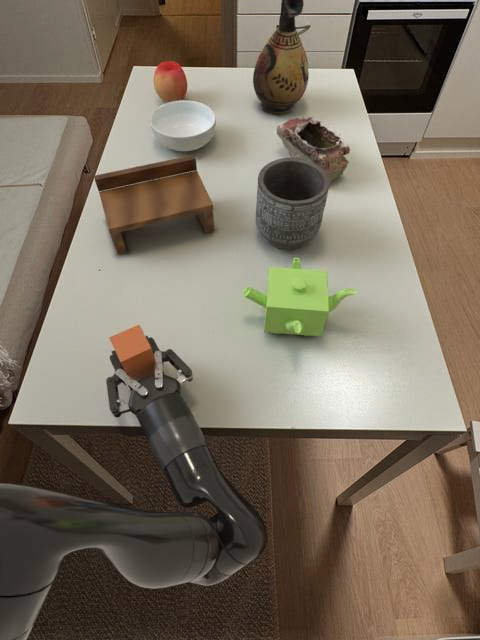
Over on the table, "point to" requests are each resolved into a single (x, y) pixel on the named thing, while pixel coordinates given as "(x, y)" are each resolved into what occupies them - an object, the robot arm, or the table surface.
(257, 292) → the kettle
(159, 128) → the cereal bowl
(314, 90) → the table surface
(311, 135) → the decorative box
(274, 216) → the planter
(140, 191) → the shelf
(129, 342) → the carton
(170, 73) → the apple
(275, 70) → the ceramic jug
